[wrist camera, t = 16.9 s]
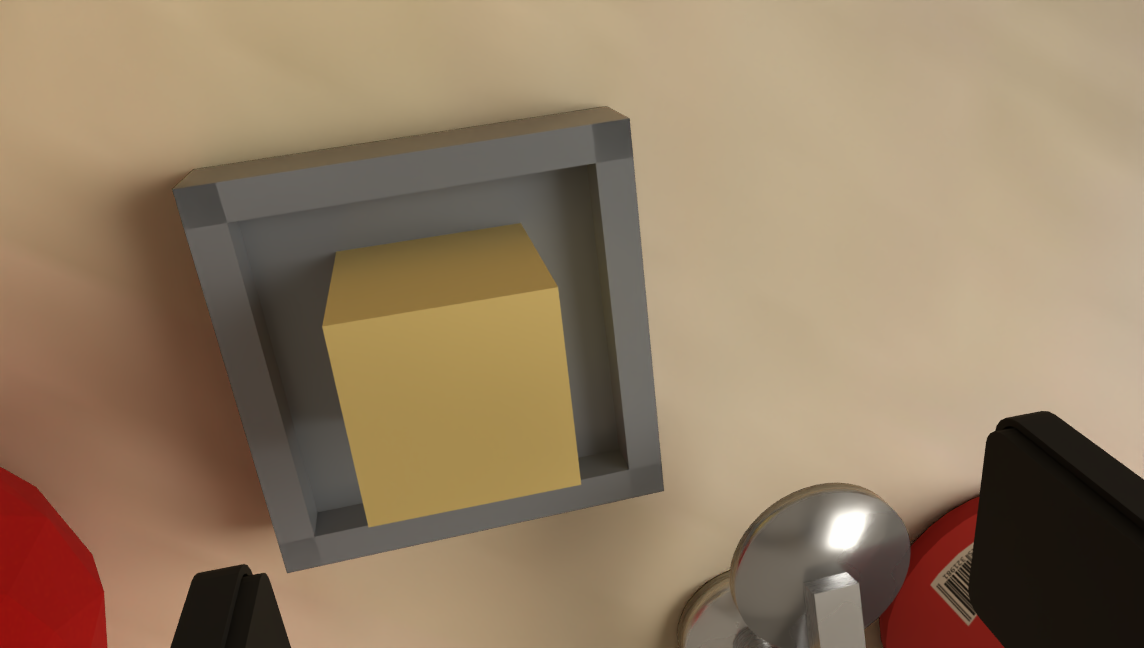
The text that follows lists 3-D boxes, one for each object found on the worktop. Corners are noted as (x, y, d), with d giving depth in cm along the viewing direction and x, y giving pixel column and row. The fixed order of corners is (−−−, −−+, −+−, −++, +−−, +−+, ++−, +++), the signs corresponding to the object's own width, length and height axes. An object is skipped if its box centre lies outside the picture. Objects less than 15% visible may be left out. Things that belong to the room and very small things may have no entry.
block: (336, 251, 19) (322, 326, 14) (520, 223, 19) (558, 286, 15) (372, 416, 20) (368, 527, 16) (542, 386, 21) (581, 484, 16)
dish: (193, 169, 18) (171, 189, 16) (606, 106, 20) (629, 118, 18) (295, 524, 22) (286, 572, 20) (641, 451, 23) (664, 490, 21)
